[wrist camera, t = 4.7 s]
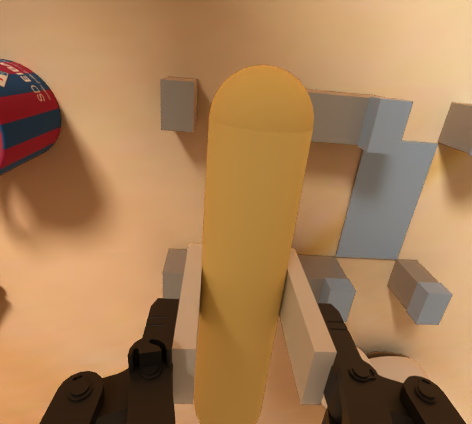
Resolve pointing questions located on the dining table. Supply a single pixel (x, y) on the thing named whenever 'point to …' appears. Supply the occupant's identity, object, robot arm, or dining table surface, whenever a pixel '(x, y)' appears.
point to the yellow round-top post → (247, 235)
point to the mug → (25, 116)
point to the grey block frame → (354, 191)
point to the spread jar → (390, 366)
